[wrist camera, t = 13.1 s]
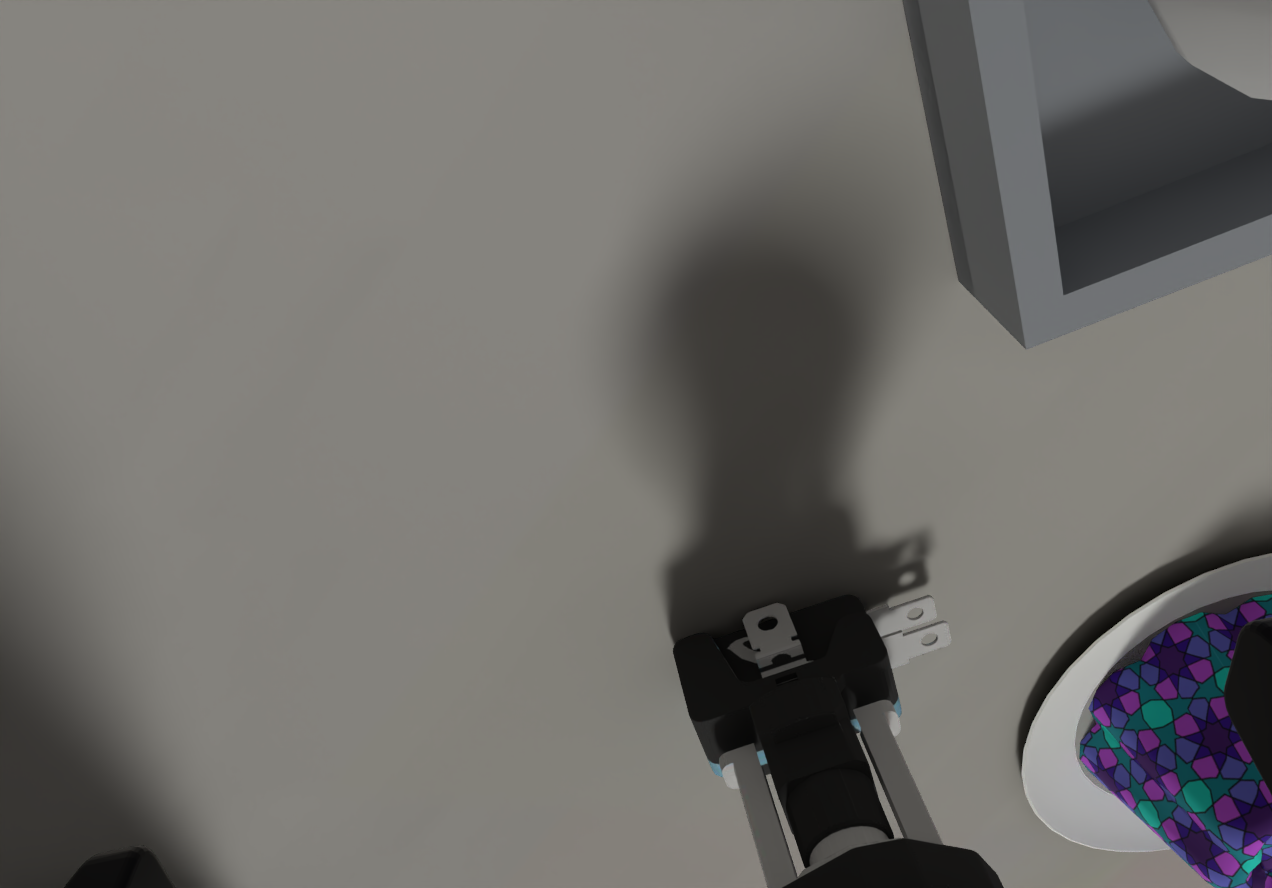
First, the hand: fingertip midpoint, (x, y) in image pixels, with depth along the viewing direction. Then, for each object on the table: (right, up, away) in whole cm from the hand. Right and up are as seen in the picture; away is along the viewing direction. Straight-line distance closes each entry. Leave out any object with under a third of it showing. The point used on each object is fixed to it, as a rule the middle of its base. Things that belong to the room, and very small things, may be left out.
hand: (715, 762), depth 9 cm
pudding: (+16, -5, +22) cm, 28 cm away
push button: (+3, -2, +18) cm, 18 cm away
